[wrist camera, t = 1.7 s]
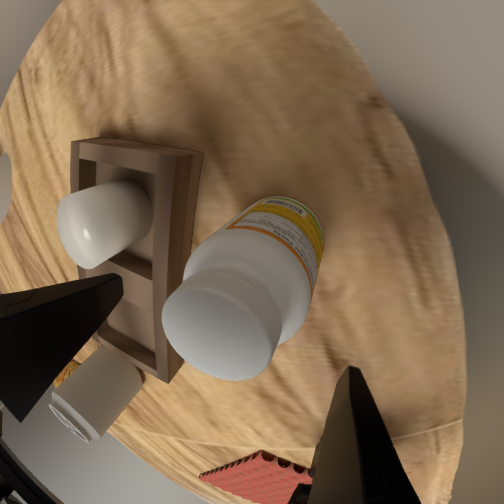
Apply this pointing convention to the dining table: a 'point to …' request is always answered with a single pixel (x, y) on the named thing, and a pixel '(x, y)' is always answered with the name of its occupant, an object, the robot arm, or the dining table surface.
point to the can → (96, 393)
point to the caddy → (143, 243)
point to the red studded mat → (258, 480)
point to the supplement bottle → (246, 289)
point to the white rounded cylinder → (103, 220)
